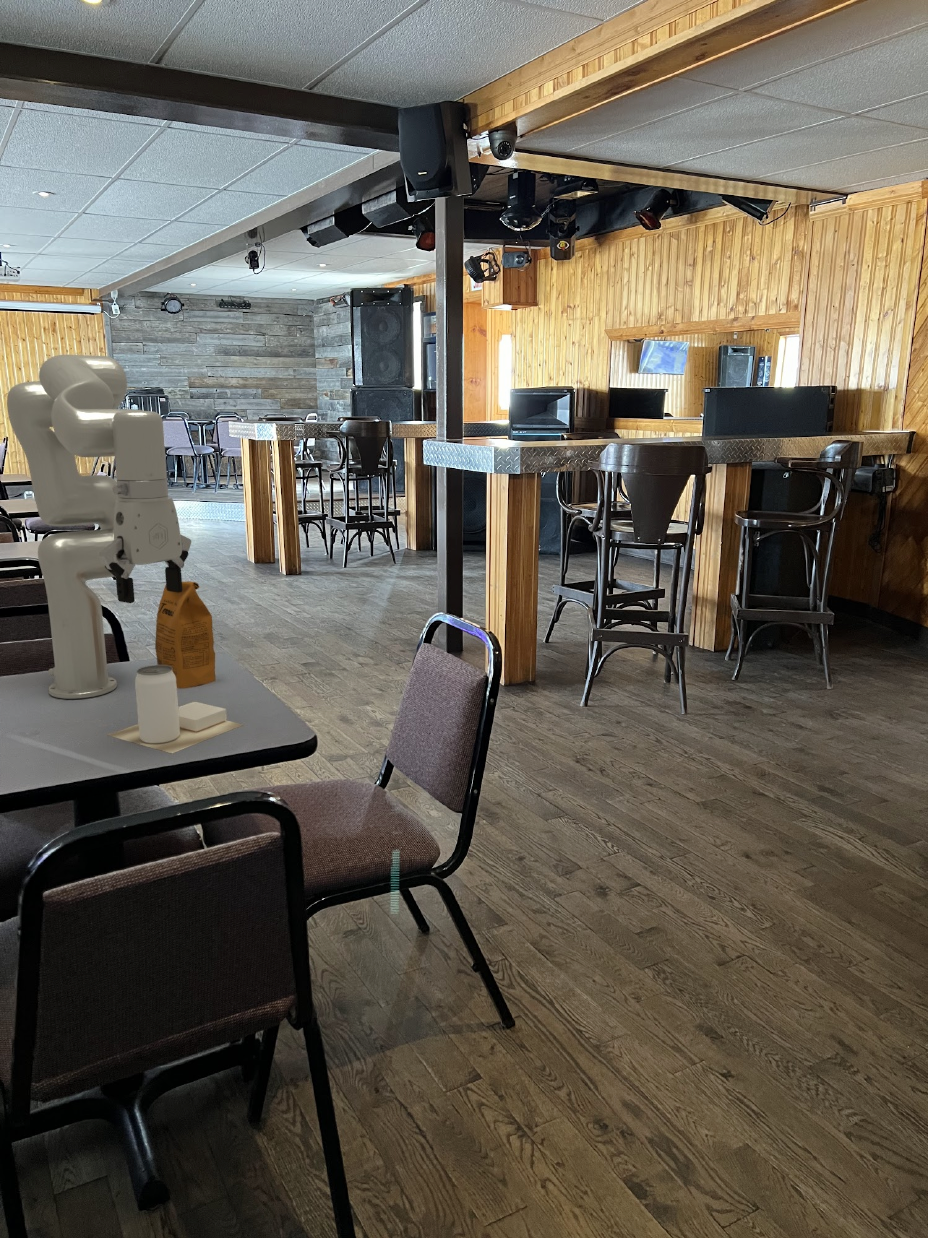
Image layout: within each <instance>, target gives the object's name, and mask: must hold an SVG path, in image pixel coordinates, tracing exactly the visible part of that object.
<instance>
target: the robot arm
mask: <svg viewBox="0 0 928 1238" xmlns="http://www.w3.org/2000/svg"><path fill="white" fill-rule="evenodd" d="M38 379H39V381H37V380H36V381H35V380H34V381H25V382H21V383H17V384H16V385H15V384H14V386H12V387H11V388H10V389H9V391H8V393H7V397H6V406H7V407H6V409H7V415H8V419H9V423H10V425H11V428H12V431H13V433H14V435H15V437H16V439H17V441H18V442H19V445H20V446H21V449H22V451H23V453H24V455H25V457H26V458H25V459H26V460H27V463H28V470H29V471H28V472H29V474H30V480H31V481H30V482H31V485H32V491H33V495H34V499H35V500H34V501H35V505H36V509H37V512H38V515H39V518H40V520H41V521H42V522H43V523H44V525H45V524H46V525H47V526H51V527H70V526H71V527H72V526H83V525H98V527H99V528H100V529H95V530H77V531H67V532H66V531H65V532H57V533H54V534H50V535H49V536H46V537H44V538H43V539H42V541H40V543H39V545H38V548H37V559H38V563H39V567H40V569H41V574H42V579H43V581H44V585H45V586H44V587H45V591H46V596H47V604H48V614H49V620H50V621H49V623H50V633H51V639H52V640H51V641H52V642H51V643H52V651H53V659H54V667H53V668H49V669H48V675H50V676H54V682H53V683H52V684H51V685H49V687H48V694H49V695H50V696H52V697H54V698H58V699H66V700H67V699H69V700H72V699H73V700H75V699H76V700H77V699H87V698H93V697H97V696H98V697H99V696H103V695H106V694H108V693H110V692H113V691H114V690H115V689H116V688H117V685H118V683H117V679H116V678H114V677H111V676H109V675H108V674H109V673H108V664H107V663H108V662H107V654H106V652H107V651H106V640H105V631H104V628H105V627H104V620H103V619H104V618H103V609H102V603H101V599H100V598H99V596H98V595H97V594H96V592H94V591H93V590H92V589H91V588H90V587H89V586H88V585H87V584H86V583H87V582H88V581H92V580H96V579H105V578H115V584H116V595H117V599H118V602H120V603H127V604H133V603H135V602H136V601H135V600H136V599H135V590H134V589H135V588H134V587H135V586H134V579H133V577H130V575H131V574H132V572H133V570H134V569H135V567H136V565H138V566H145V565H150V564H151V565H152V564H155V563H162V562H164V563H165V564H166V565H167V567H165V568H164V574H165V585H166V589H167V591H171V592H177V593H180V592H182V581H183V580H182V579H183V578H182V569H183V568H185V562H186V560H187V559H188V557H189V551H190V549H191V545H192V540H191V538H189V537H186V536H185V535H182V534H181V530H180V522H179V517H178V512H177V509H176V505H175V501H174V500H173V498H172V497H169V491H168V476H167V474H168V473H167V460H166V449H165V448H166V447H165V433H164V431H165V430H164V421H163V418H162V416H161V415H160V414H159V413H158V412H156V411H151V410H142V409H138V408H135V409H133V408H132V409H131V408H125V409H124V408H119V407H120V405H121V403H123V401H124V399H125V396H126V394H127V391H128V390H127V389H128V380H127V376H126V372H125V370H124V368H123V366H122V365H121V364H120V362H119V361H117V359H115V358H113V357H110V356H108V355H107V356H106V355H85V354H82V355H81V354H59V355H54V356H50V357H49V358H47V360H45V361H43V363H42V364H41V366H40V368H39V373H38ZM51 428H52V429H53V430H52V429H51ZM76 456H77V457H80V458H104V457H105V458H107V457H114V463H115V475H116V480H115V479H114V478H113V477H111V476H108V475H102V474H99V475H95V474H94V475H81V474H80V473H79V470H78V466H77V461H76Z"/></svg>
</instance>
